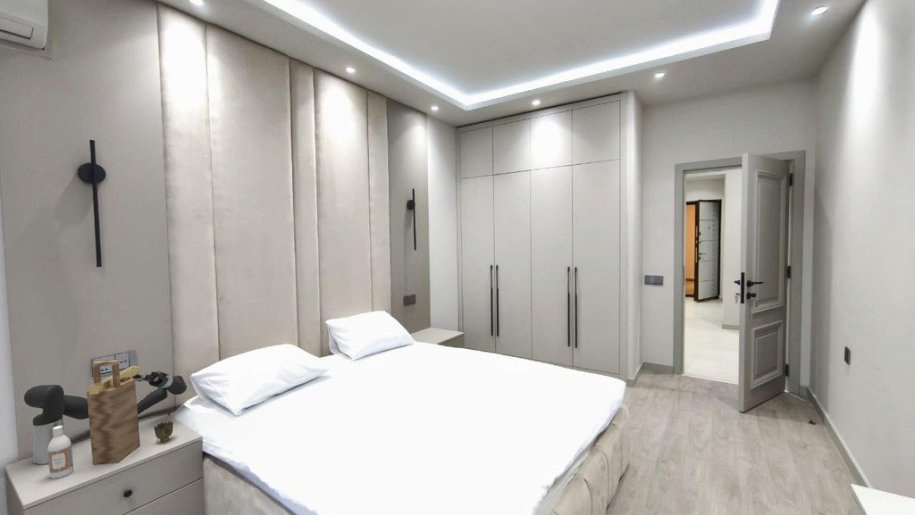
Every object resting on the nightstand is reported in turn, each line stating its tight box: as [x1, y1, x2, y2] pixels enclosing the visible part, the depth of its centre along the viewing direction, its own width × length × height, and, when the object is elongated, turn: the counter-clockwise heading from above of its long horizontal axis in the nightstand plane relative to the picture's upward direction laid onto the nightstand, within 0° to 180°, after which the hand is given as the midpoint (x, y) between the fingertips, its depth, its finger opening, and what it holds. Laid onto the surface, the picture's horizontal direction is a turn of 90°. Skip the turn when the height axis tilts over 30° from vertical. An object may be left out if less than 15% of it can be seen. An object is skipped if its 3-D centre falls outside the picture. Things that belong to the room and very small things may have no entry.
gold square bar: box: [88, 365, 141, 394], centre depth 178 cm, size 4×26×4 cm, turn 7°
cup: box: [153, 420, 174, 443], centre depth 189 cm, size 8×7×8 cm
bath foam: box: [48, 426, 74, 480], centre depth 163 cm, size 7×7×20 cm
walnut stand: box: [86, 359, 141, 466], centre depth 176 cm, size 10×14×44 cm
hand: (142, 374), depth 195 cm, fingers open, 8 cm apart
